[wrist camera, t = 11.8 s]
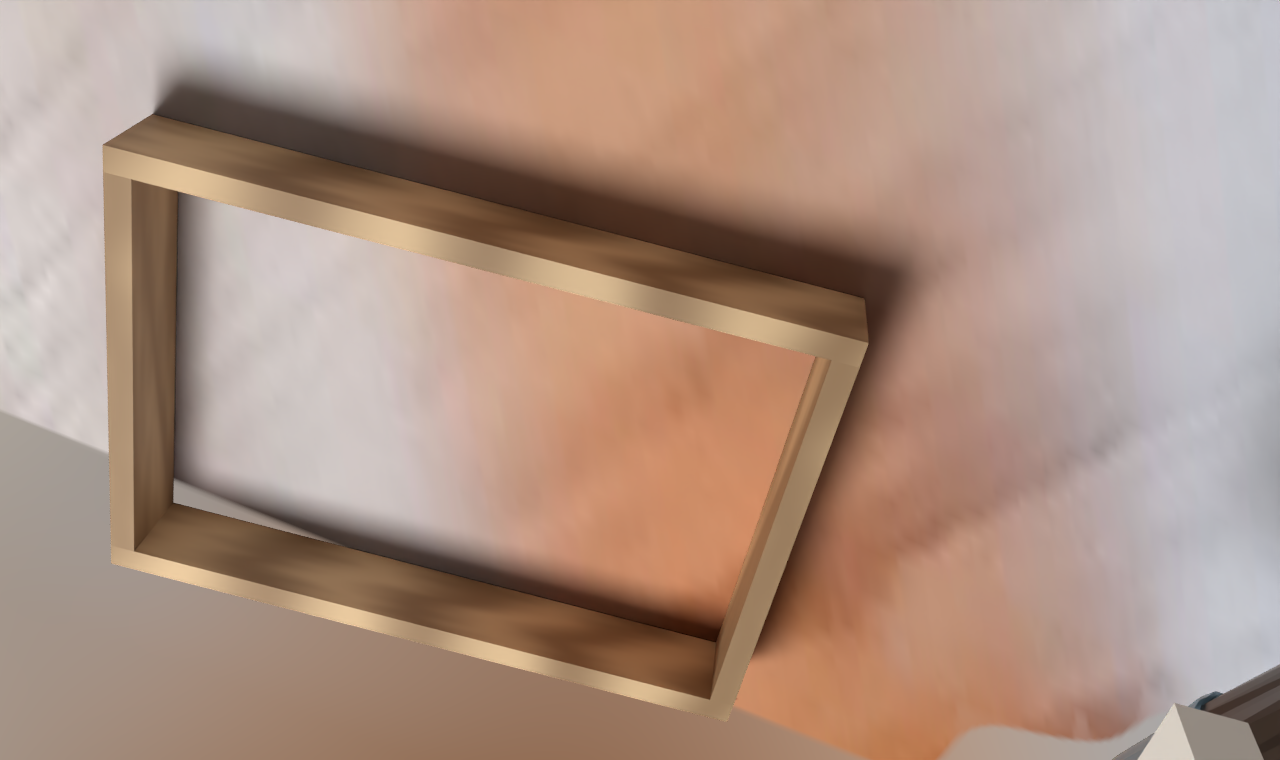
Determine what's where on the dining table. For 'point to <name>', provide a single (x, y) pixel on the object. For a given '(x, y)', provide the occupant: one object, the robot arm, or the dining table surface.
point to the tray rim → (483, 239)
